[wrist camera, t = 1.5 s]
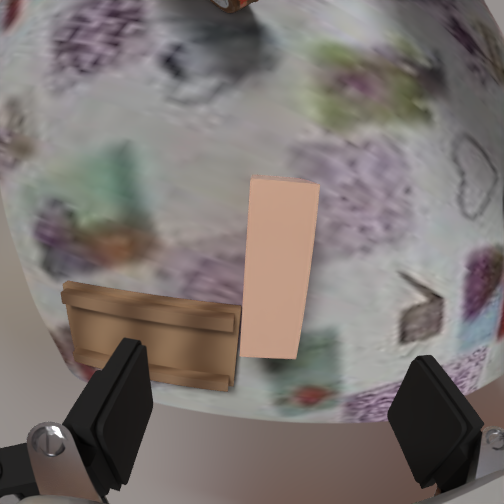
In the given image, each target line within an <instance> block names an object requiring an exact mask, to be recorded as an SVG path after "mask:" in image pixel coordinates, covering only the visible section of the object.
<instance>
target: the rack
mask: <svg viewBox="0 0 504 504" xmlns="http://www.w3.org/2000/svg"><path fill="white" fill-rule="evenodd" d="M61 298H62V304H66V309H67V314H68V320H69V325H70V330H71V334H72V339H73V344H74V348H75V350H74V352H73V356H74V360H75V361H76V362H79V363H83V364H86V365H90V366H93V367H97V368H101V369H103V368H104V366H105V365H106V363H107V362H108V360H109V359H110V357H111V356H112V354H113V352H114V351H115V349H116V348H117V346H118V345H119V343H120V342H121V340H122V339H123V338H131V339H136V340H140V341H141V343H142V345H145V346H146V347H147V356H148V366H149V374H150V380H153V381H158V382H164V383H169V384H175V385H181V386H188V387H194V388H201V389H209V390H217V391H226V392H228V386H233V384H234V374H235V364H236V353H237V343H238V333H239V323H240V313H241V305H231V304H222V303H213V302H205V301H196V300H188V299H180V298H173V297H166V296H158V295H151V294H144V293H138V292H131V291H125V290H119V289H112V288H106V287H100V286H95V285H89V284H83V283H78V282H72V281H66V282H65V283H64V284H63V291H62V292H61Z"/></svg>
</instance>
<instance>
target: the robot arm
mask: <svg viewBox="0 0 504 504" xmlns="http://www.w3.org/2000/svg"><path fill="white" fill-rule="evenodd" d="M152 408H153V398H152V390H151V383H150V374H149V366H148V356H147V347H146V346H145V345H142V343H141V341H140V340H136V339H131V338H123V339H122V340H121V342H120V343H119V345H118V346H117V348H116V349H115V351H114V352H113V354H112V356H111V357H110V359H109V360H108V362H107V363H106V365H105V366H104V368H103V370H102V371H101V370H97V371H96V372H95V373H94V374H93V376H92V377H91V379H90V380H89V382H88V384H87V385H86V387H85V388H84V390H83V391H82V393H81V394H80V396H79V398H78V399H77V401H76V402H75V404H74V406H73V407H72V409H71V410H70V412H69V414H68V415H67V417H66V419H65V420H64V422H63V424H62V425H61V424H59V423H55V422H43V423H40V424H38V425H36V426H34V427H33V428H32V429H31V430H30V432H29V433H28V436H27V443H23V444H18V445H14V446H9V447H4V448H0V504H109V502H108V500H107V498H106V496H105V495H107V494H108V493H109V490H110V488H111V489H114V490H117V491H120V488H121V485H122V484H124V485H126V484H127V483H128V480H129V477H130V474H131V471H132V468H133V465H134V462H135V459H136V456H137V453H138V450H139V447H140V444H141V441H142V438H143V435H144V433H145V430H146V426H147V424H148V421H149V418H150V415H151V412H152ZM387 416H388V420H389V422H390V424H391V427H392V429H393V431H394V433H395V435H396V438H397V440H398V442H399V444H400V446H401V449H402V451H403V453H404V455H405V458H406V460H407V462H408V465H409V467H410V469H411V472H412V474H413V476H414V479H415V481H416V482H418V483H419V484H420V486H421V488H422V489H423V488H426V487H429V486H432V485H434V484H435V483H437V489H436V492H435V494H434V497H431V498H428V499H425V500H423V501H419V502H416V503H413V504H504V430H503V429H502V428H500V427H496V426H489V427H487V428H486V429H485V430H484V431H483V432H481V430H480V429H481V428H482V426H483V425H484V422H483V421H482V420H481V418H480V417H479V415H478V414H477V413H476V411H475V410H474V409H473V407H472V406H471V405H470V403H469V402H468V401H467V399H466V398H465V397H464V395H463V394H462V393H461V391H460V390H459V389H458V387H457V386H456V385H455V384H454V382H453V381H452V380H451V378H450V377H449V376H448V375H447V373H446V372H445V371H444V370H443V368H442V367H441V366H440V365H439V363H438V362H437V361H436V360H435V358H434V357H433V356H432V355H423V356H417V357H416V358H415V360H413V361H412V362H411V364H410V366H409V369H408V371H407V373H406V375H405V377H404V380H403V382H402V384H401V386H400V388H399V390H398V392H397V394H396V396H395V398H394V400H393V402H392V404H391V406H390V408H389V410H388V414H387Z"/></svg>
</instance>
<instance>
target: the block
mask: <svg viewBox="0 0 504 504" xmlns="http://www.w3.org/2000/svg"><path fill="white" fill-rule="evenodd" d="M319 189H320V184H317V183H314V182H311V181H308V180H305V179H301V178H290V177H278V176H266V175H252V176H251V181H250V196H249V212H248V227H247V243H246V259H245V275H244V291H243V308H242V325H241V342H240V356H242V357H259V358H283V359H296V357H297V351H298V345H299V340H300V334H301V328H302V322H303V316H304V309H305V303H306V296H307V289H308V282H309V275H310V268H311V260H312V253H313V245H314V236H315V228H316V219H317V209H318V200H319Z"/></svg>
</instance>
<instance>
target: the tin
mask: <svg viewBox="0 0 504 504" xmlns="http://www.w3.org/2000/svg"><path fill="white" fill-rule="evenodd" d="M210 1H211V2H213V3H214V4H215V5H216V6H217V7H219V8H220V9H221V10H223V11H225V12H227V13H234V12H236V11H238V10H240V9H242V8H244V7H245V6H247V5H249V4H251V3H253V2H257V1H258V0H210Z"/></svg>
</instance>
